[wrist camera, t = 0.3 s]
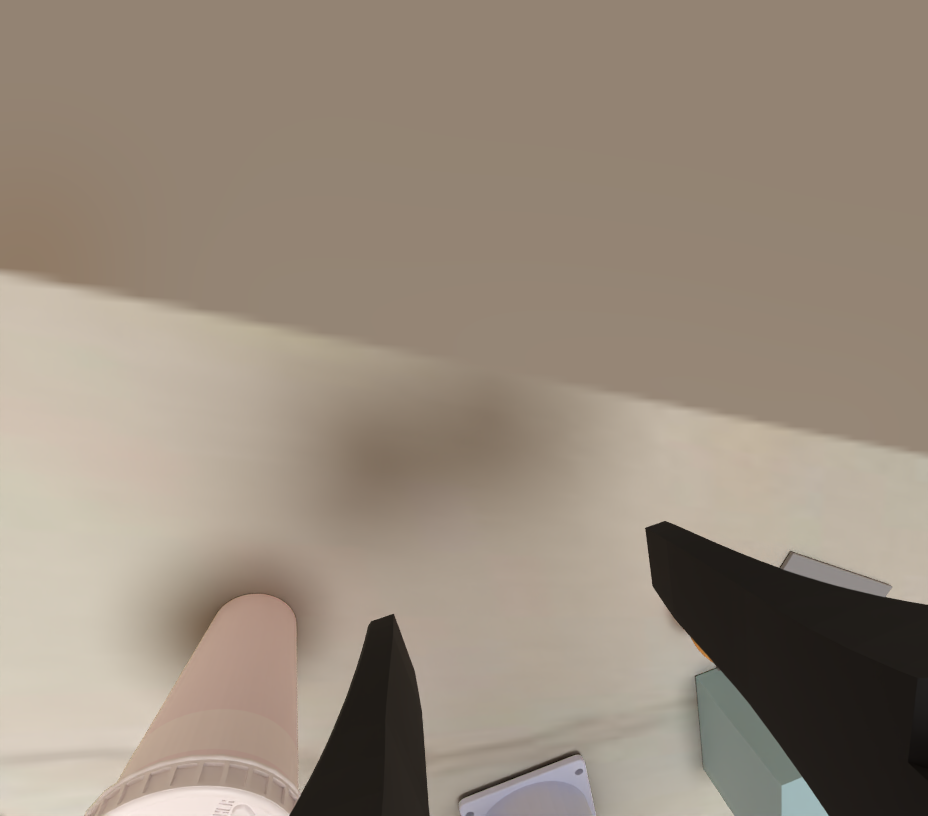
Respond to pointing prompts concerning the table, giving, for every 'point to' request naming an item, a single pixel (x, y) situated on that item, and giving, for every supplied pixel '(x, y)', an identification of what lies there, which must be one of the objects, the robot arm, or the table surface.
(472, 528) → the table surface
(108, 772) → the table surface
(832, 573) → the tape square
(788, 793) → the light blue upright block
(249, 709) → the smoothie
